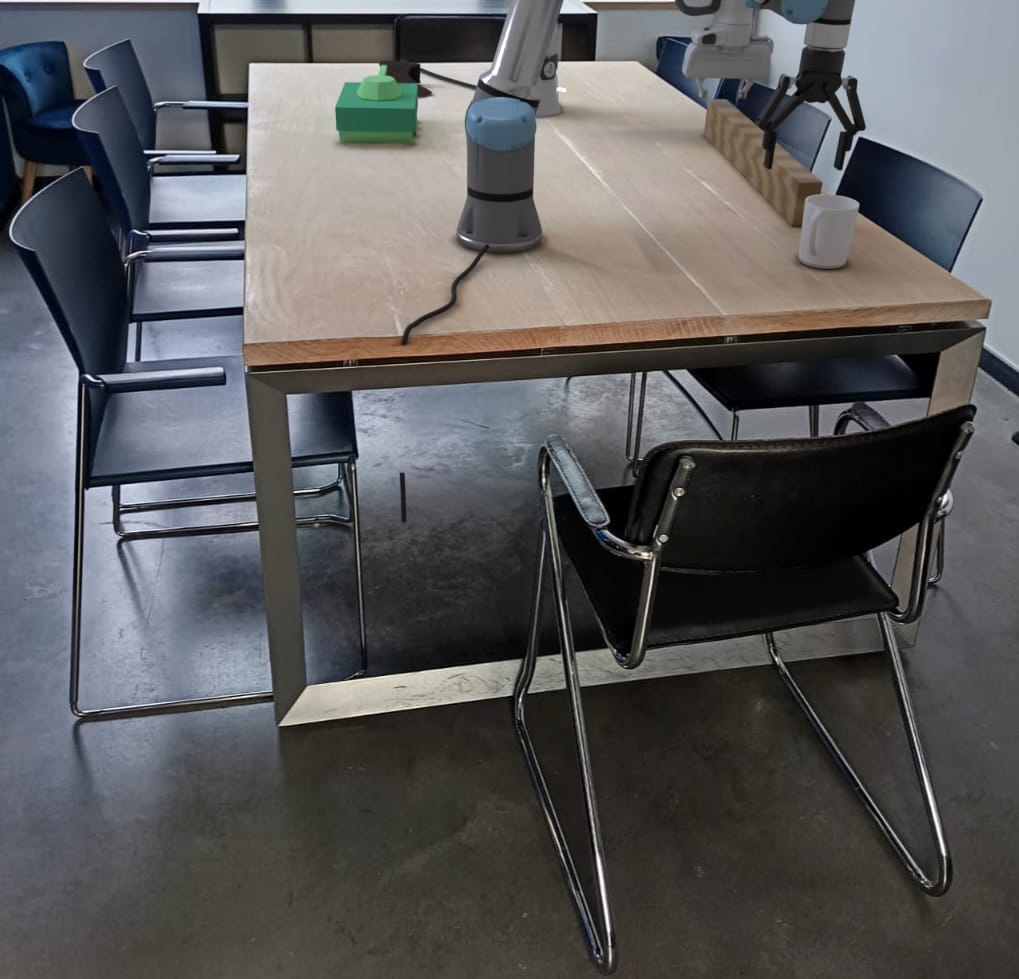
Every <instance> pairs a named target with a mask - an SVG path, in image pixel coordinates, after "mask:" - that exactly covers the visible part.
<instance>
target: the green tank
mask: <svg viewBox="0 0 1019 979" xmlns="http://www.w3.org/2000/svg"><path fill="white" fill-rule="evenodd" d="M386 73H387V65H381V68H380V67H379V72H378V74H376V75H375V74H374V75H368V76H366V77H363V78H362V80H361V82H358V81H355V82H354V81H353V82H352V81H345V82H344V84H343V86H342V88H341V92H340V93H339V96H338V99H337V101H336V104H335V107H334V112H335V128H336V129H335V130H336V131H337V132H338V137H339V142H340V143H341V144H413V142H414V139H413V138H414V137H417V129H418V108H419V97H418V84H416V83H397V82H396V81H395V79H394V78H392V77H391V76H386Z"/></svg>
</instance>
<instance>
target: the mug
mask: <svg viewBox="0 0 1019 979" xmlns="http://www.w3.org/2000/svg"><path fill="white" fill-rule="evenodd" d="M859 209H860V203H859V201H857V200H855V199H853V198H850V197H847V196H843V195H837V194H829V193H828V194H827V193H825V194H823V193H821V194H820V195H812V196H809V197H807V198H806V199H805V205H804V214H803V222H802V226H801V232H800V240H799V241H800V242H799V249H798V261H799V262H801V263H802V264H804V265H806V266H808V267H812V268H816V269H825V270H828V269H829V270H831V269H833V270H834V269H839V268H842V267H844V266H845V265H846V263H847V259H848V255H849V251H850V247H851V242H852V239H853V234H854V231H855V225H856V221H857V218H858V213H859Z"/></svg>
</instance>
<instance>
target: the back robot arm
mask: <svg viewBox="0 0 1019 979" xmlns="http://www.w3.org/2000/svg"><path fill="white" fill-rule="evenodd" d="M506 1H507V4H508V8H509V7H510V3H511V0H506ZM674 2H675V5H676V7H677V8H678V10H679V11H680V12H681V13H682V14H684V15H686V16H689V17H693V18H695V17H702V16H706V15H711V16H712V17H713V20H712V24H710V25H707V26H703V27H700V28H697V29H694V30H692V31H691V33H690V39H691V42H690V43H689V44H688V45H687V47H686V48H685V53H684V57H683V62H682V69H681V70H682V74H683V75H684V76H685V77H686V78H687V79H688V78H689V79H696V80H695V82H696V84H697V86H698V89H699V93H698V97H699V98H700V99H708V92H709V91H708V89H707V88H704V86H703V84H704V83H705V79H730V80H733V79H734V80H744V82H745V85H744V86H743V87H742V89H738V95H737V96H738V99H741V100H746V99H747V97H748V96H747V95H748V92H749V90H750V89H751V88H752V87H753V85H754V80H767V79H768V78H769V76H770V75H771V65H772V54H774V53H773V52H774V48H775V42H774V40H773V39H772V38H771V37H769V36H768V35H761V36H760V35H752V29H753V22H754V19H753V11H754V9H753V8H747V7H746V6H745V5H744V2H743V0H674ZM558 26H559V25H558V22H557V23H556V26H555V29H554V32H553V35H552V38H551V41H550V44H549V47H548V51H547V54H546V57H545V60H544V63H543V66H542V69H541V72H540V75H539V78H538V82H537V88H538V90H539V92H540V95H541V100H540V103H539V106H538V109H537V112H536V115H535V118H536V117H537V118H538V117H548V116H549V117H550V116H554V115H558V114H560V113H561V112H562V111H561V107H562V104H561V102H560V95H559V92H565V93H566V92H567V90H566V88H564V87H559V77H558V74H557V70H558V68H559V54H558V53H557V51H558V50H557V49H558V48H557V47H558ZM399 62H409V61H408V60H405V59H404V58H402V57H401V58H399ZM420 73H424V74H426V75H428V76H431V77H434V78H437V79H440V80H443V81H446V82H449V83H452V84H455V85H460V86H463V87H466V88H469V89H474V90H476V87H477V84H476V85H475V84H472V83H469V82H464V81H461V80H458V79H454V78H451V77H447V76H445V75H441V74H438V73H435V72H432V71H430V70H427V69H426V68H424V67H423V68H422V67H420Z"/></svg>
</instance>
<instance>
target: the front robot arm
mask: <svg viewBox="0 0 1019 979" xmlns="http://www.w3.org/2000/svg"><path fill="white" fill-rule="evenodd" d="M743 2H744V5H745V6H746V7H747V8H753V10H758V11H762V10H768V11H771V12H773V13H774V14H777V15H778V16H780V17H781V18H784V20H785V21H787V22H789V23H791V24H793V25H801V26H802V25H806V26H805V31H804V38H803V44H804V45H805V46H804V47H803V48H802V49H801V54H800V60H799V66H798V73H797V74H796V76H791V75H790V76H789V75H787V74H785V73H782V74H780V76H779V79H778V83H777V86H776V88H775V89H774V91H773V92H772V94H771V96H770V98H769V99H768V100H767V102H766V104H765V105H764V107H763V108H762V109H761V112H760V113H759V114H758V116H757V118H756V120H755V122H754V124H755V125H757V126H758V127H759V128H760V129H761V130H762V131H764V135H763V141H762V148H763V149H764V150H766V153H765V159H764V166H765V167H766V168H767V169H772V164H773V157H774V151H775V145H776V143H777V139H778V132H776V129H778V127H779V126H780V125H782V123H784V121H785V120H786V119H787V118H788V117H789V116H790V115H791V114H792V113H793V112H794V111H795V110H796V109H797V108H798V107H799V106H801V105H803V103H807V104H814V103H818V104H826V103H827V102H828V104H829V105H830V107H831V108H832V110H833V112H834V114H835V116H836V118H838V120H839V122H840V123H841V126H842V127H843V129H844V131H841V130H840V131H839V137H838V141H837V146H836V151H835V156H834V162H833V168H834V169H836V170H837V171H843V168H844V164H845V159H846V154H847V152H851V150H852V146H853V141H854V138H855V137H854V136H856V135H857V134H858V132H864V131H865V130H867V126H866V121H865V118H864V114H863V109H862V107H861V106H862V105H861V103H860V99H859V95H858V81H859V80H858V79H857V78H856V77H854V76H852V75H848V76H847V77H842V73H843V68H844V63H845V58H846V51H845V50H844V49H845V48H847V46H848V42H849V37H850V30H851V25H852V17H853V15H854V14H853V13H854V9H855V5H856V0H743ZM563 4H564V0H511V3H510V7H509V6H508V11H507V14H506V17H505V20H504V23H503V27H502V30H501V34H500V37H499V39H498V40H499V41H498V43H497V47H496V50H495V53H494V56H493V60H492V64H491V67H490V68H489V70H486V71H485V72H483V73H481V74H479V78H478V80H477V83H476V86H477V87H476V89H474V94H473V98H472V99H471V101H470V102H469V105H468V106H467V108H466V111H465V116H464V131H465V137H466V192H467V193H466V198H465V202H464V205H463V209H462V211H461V214H460V218H459V220H458V224H457V227H456V241H457V243H458V244H459V245H461V246H462V247H464V248H466V249H468V250H470V251H475V252H478V253H477V255H476V256H475V258H474V259H473V261H472V262H471V264H469V266H468V267H467V268H466V269H465V270H464V271H463V272H461V273H460V274H459V275H458V276H457V277H456V278H455V279H454V281H453V282H452V284H451V289H450V291H451V299H450V301H449V302H447V303H446V304H445V305H443V306H441V307H439V308H438V309H434V310H433V311H430V312H428V313H425V314H424V315H422V316H420V317H418V318H417V319H415V320H414V321H413V322H411V323H409V324H408V325H407V326H406V327H405V329H404V330H403V331H404V332H403V335H402V337H401V342H400V345H401V346H406V345H407V343H408V339H409V336H410V334H411V331H412V330H413V329H414V328H417V327H418V326H419V325H421V324H423V323H424V322H425V321H427V320H429V319H432V318H434V317H436V316H439V315H441V314H443V313H445V312H447V311H448V310H450V309H451V308H452V307H453V306H454V305H455V303H456V302H457V299H458V298H457V295H458V294H457V287H458V285H459V283H460V282H461V281H462V280H464V278H465V277H467V276H468V275H469V274H470V273H471V272H472V271H473V270H474V268H476V266H477V265H478V263H479V262H480V260H481V259H482V257H483V256H484V255H485V253H486V254H497V255H499V254H500V255H506V254H507V255H508V254H517V253H524V252H527V251H530V250H533V249H536V248H538V247H539V246H540V245H541V244H542V243H543V229H542V224H541V221H540V220H541V219H540V218H539V214H538V213H539V212H538V210H537V206H536V204H535V199H534V183H535V181H534V180H535V148H536V147H535V146H536V133H537V128H538V127H537V121H536V117H535V115H536V112H537V109H538V106H539V103H540V100H541V95H540V92H539V90H538V88H537V82H538V78H539V75H540V72H541V69H542V66H543V63H544V60H545V57H546V54H547V51H548V47H549V44H550V41H551V38H552V35H553V32H554V29H555V26H556V23H557V24H558V19H559V17H560V13H561V10H562V6H563ZM793 85H794V86H795V88H796V90H795V91H794V92H793V93H792V94H791V96H790V98H789V99H788V100H787V101H786V102H785V103H784V104H783V105H782V106H781V107H780V108H779V109H778V107H779V105H780V104H781V102H782V101H783V99H784V97H785V96H786V94H787V92H788V90H790V89H791V88H792V87H793ZM841 87H842V89H843V90H845V93H846V97H847V101H848V105H849V109H850V112H851V117H852V120H853V122H852V121H851V119H850V117H849V115H848V114H847V112H846V110H845V109H844V107H843V105H842V103H841V102H840V99H839V98H838V96H837V94H836V92H837V91H838V90H839V89H840V88H841ZM777 109H778V110H777ZM776 110H777V111H776ZM399 490H400V518H401V519H400V521H401V523H403V524H404V523H407V496H406V495H407V494H406V493H407V492H406V473H405V472H401V471H399Z"/></svg>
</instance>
